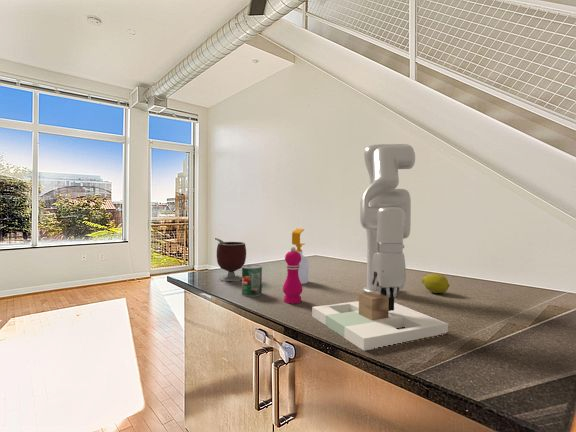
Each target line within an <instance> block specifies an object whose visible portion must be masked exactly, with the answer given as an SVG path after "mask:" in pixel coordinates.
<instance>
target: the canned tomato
mask: <svg viewBox="0 0 576 432" xmlns="http://www.w3.org/2000/svg"><path fill="white" fill-rule="evenodd" d="M241 276H242V281H241V295H242V296H243V297H249V296H250V297H259V296H261V295H263V292H262V290H263V285H262V283H263V282H262V281H263V279H262V278H263V277H262V276H263V266H262V265H259V264H244V265H243V266H242V268H241Z"/></svg>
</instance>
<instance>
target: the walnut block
mask: <svg viewBox="0 0 576 432" xmlns="http://www.w3.org/2000/svg"><path fill="white" fill-rule="evenodd" d="M358 301H359V314H360V315H362V316H364V317H366V318H368V319H370V320H377V319H383V318H388V313H389V297H388V296H385V295H382V294H379V293H377V292H371V293H366V292H363V293H358Z"/></svg>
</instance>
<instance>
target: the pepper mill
mask: <svg viewBox="0 0 576 432" xmlns="http://www.w3.org/2000/svg"><path fill="white" fill-rule="evenodd" d="M295 250H297V248H296V246H292V247H291V248H290V251H288V252H287V253H286V254H285V256H284V261H285V262H286V264H285V265H286V267H285V268H286V270H287V273H286V274H287V276H286V279H285V281H284V283H283V285H282V291H283V293H284V296H283V301H284V302H285V303H287V304H293V305H294V304H300V303H301V302H302V296H301V294H302V292H303V284H301V282H300V279H299V276H298V270H299V269H300V267H299V266H300V265H299V263H300V261H301V255H300V253H298V252H296V251H295Z"/></svg>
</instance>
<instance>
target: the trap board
mask: <svg viewBox="0 0 576 432" xmlns="http://www.w3.org/2000/svg"><path fill="white" fill-rule="evenodd" d="M311 317H312V318H314V319H316V320H317V321H319V322H320V323H322V324H323V325H325V326H326V327H327V328H329V329H330V330H332V331H333V332H335V333H336V334H338V335H340V336H341V337H343V338H344V339H345V340H347V342H348V341H349V342H350V343H351V344H353V345H354V346H356V347H357V348H359V349H361V350H362V351H370V350H375V349H379V348H378V347H381V348H384V347H383V346H386V347H389V346H388V345H391V346H394V345H393V344H396V345H398V344H397V343H401V344H403V343H402V342H406V341H410V340H415V339H419V338H424V337H429V336H434V335H438V334H441V333H446V332H448V333H449V323H447V322H445V321H443V320H440V319H437V318H435V317H431V316H429V315H427V314H424V313H422V312H419V311H417V310H415V309H413V308H412V309H411V308H409V307H407V306H405V305H401V304H399V303H397V302H394V310H391V311H389V313H388V318H383V319H377V320H370V319H368V318H366V317H364V316H362V315H360V314H359V300H358V301H357V300H356V301H349V302H342V303H341V302H339V303H332V304H324V305H316V306H311ZM399 327H405V328H399ZM396 328H399V329H396ZM406 343H407V342H406ZM374 348H375V349H374Z"/></svg>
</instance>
